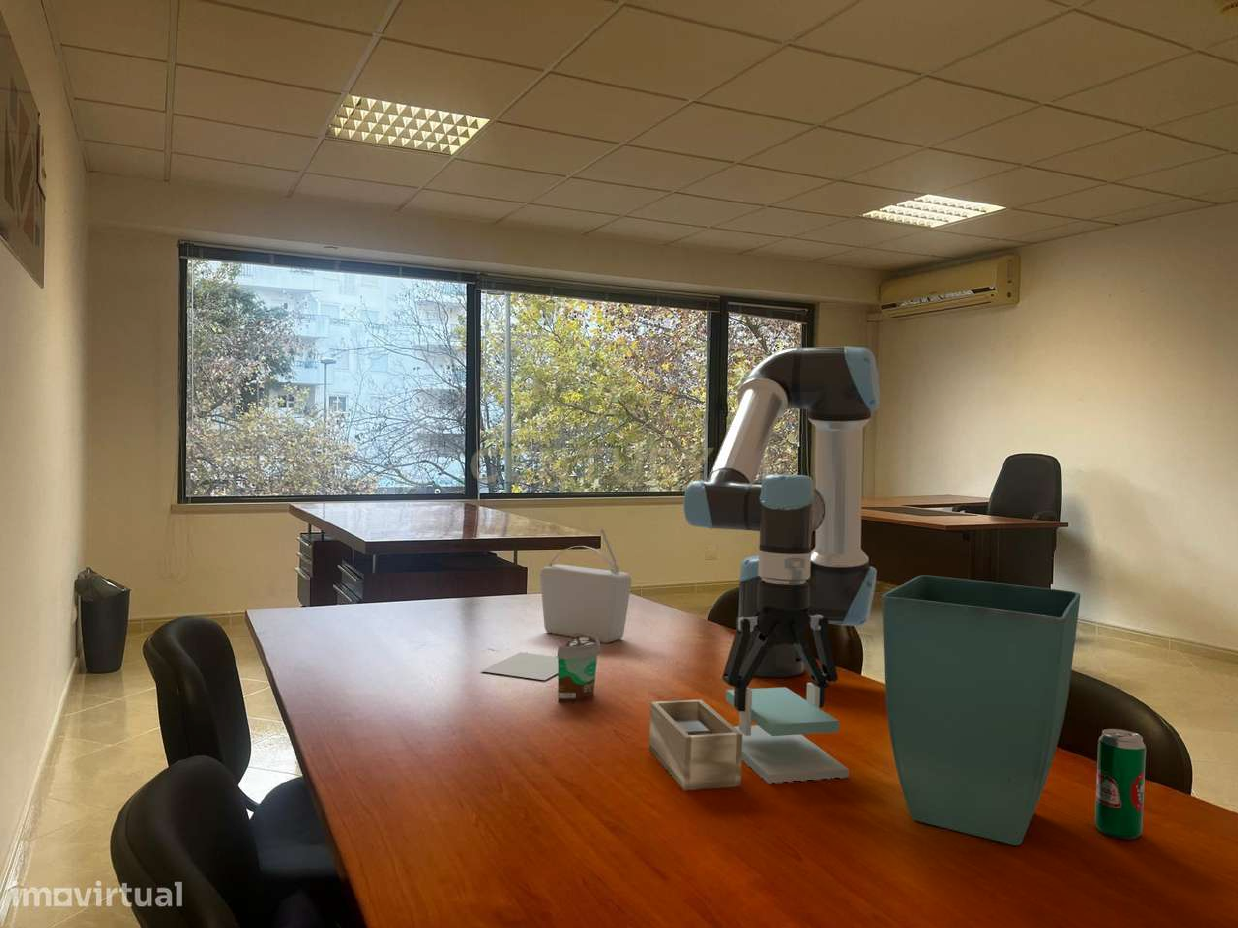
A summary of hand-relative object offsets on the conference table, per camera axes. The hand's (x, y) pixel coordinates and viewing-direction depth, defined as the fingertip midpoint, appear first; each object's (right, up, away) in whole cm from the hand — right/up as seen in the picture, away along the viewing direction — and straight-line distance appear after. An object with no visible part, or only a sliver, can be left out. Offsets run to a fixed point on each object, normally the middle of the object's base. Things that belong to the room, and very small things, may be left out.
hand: (778, 730), depth 132 cm
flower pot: (+21, -5, -20) cm, 29 cm away
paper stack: (-44, -1, +52) cm, 68 cm away
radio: (-31, -1, +76) cm, 82 cm away
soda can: (+37, -6, -23) cm, 44 cm away
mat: (0, -4, 0) cm, 4 cm away
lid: (0, +2, 0) cm, 2 cm away
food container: (-30, -2, +27) cm, 41 cm away
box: (-13, -3, -5) cm, 15 cm away
